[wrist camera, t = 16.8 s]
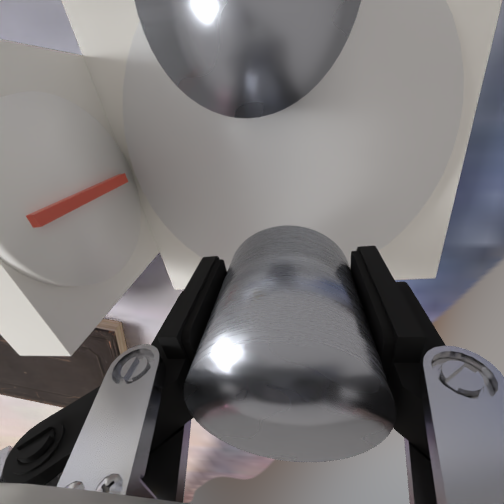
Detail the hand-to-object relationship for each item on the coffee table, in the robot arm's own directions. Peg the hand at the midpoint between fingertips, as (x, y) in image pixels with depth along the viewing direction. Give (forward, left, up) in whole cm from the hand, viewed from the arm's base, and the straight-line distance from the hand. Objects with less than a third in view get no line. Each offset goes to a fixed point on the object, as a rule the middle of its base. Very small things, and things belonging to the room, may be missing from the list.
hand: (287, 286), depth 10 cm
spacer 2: (0, 0, 0) cm, 0 cm away
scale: (-1, +4, -8) cm, 9 cm away
